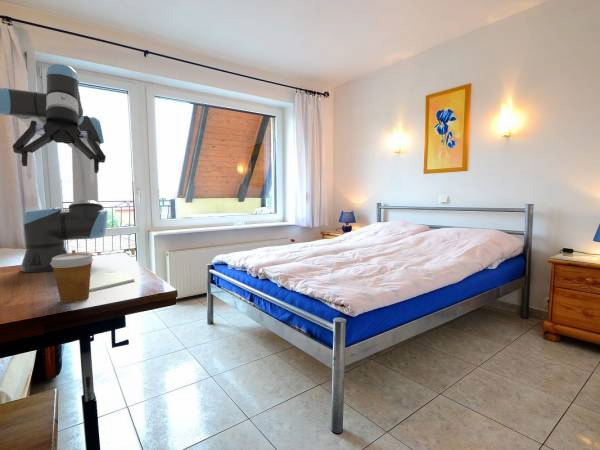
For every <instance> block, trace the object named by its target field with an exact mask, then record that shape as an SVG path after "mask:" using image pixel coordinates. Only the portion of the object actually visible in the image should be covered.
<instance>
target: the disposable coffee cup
mask: <svg viewBox="0 0 600 450" xmlns="http://www.w3.org/2000/svg"><path fill="white" fill-rule="evenodd" d="M93 260H94V258H93V256H92V257H91V255H90V254H68V255H61V256H56V257H53V258H52V261H51V263H50V265H51V266H52V267H53V274H54V279H55V282H56V287H57V291H58V295H59V296H58V297H59V301H60V302H61V303H62V304H74V303H79V302H83V301H86V300H87V299H89V297H90V292H89V286H90V276H91V274H92V273H91V271H92V267H91V263H92V264H93Z"/></svg>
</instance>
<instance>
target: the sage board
mask: <svg viewBox="0 0 600 450" xmlns="http://www.w3.org/2000/svg"><path fill="white" fill-rule="evenodd" d="M132 281H133V282H135V278H133V277H129V276H125V275H120V274H118V273H112V272H104V273H99V274H95V275H90V286H89V293H90V292H94V291H95V292H96V291H99V290H103V289H108V288H111V287H116V286H120V285H124V284H127V283H133V282H132Z"/></svg>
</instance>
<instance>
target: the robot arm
mask: <svg viewBox="0 0 600 450" xmlns="http://www.w3.org/2000/svg"><path fill="white" fill-rule="evenodd" d="M45 77H46V92H36V91H35V92H34V91H30V90H29V91H28V90H21V89H12V88H7V87H0V115H4V116H14V117H15V118H17V119H18V120H20V121H21V122H23V123H24V124H25V125H26V127H27V129H26V131H24V132H23V133H22V134H21V136H20V137H19V138H18V139H17V140H16V141H15V143H13V144H12V149H13V153H15V154H20V155H21V165H22V166H23V167H26V178H27V180H32V171H33V170H32V168H33V155H32V154H33V153H35V152H36V151H37V150H39V149H41V148H42V147H44V146H45V145H47V144H49V143H51V142H54V143H57V144H60V143H61V144H65V145H67V146H68V147H70V148H71V158H72V159H71V163H72V164H71V165H72V166H71V167H72V199H73V202H72V203H70V204H69V205H68V210H63V209H62V207H61V206H58V207H50V208H43V209H36V210H29V211H25V213H24V214H23V222H22V223H23V224H22V225H23V229H24V230H23V231H24V239H25V254H24V256H23V259H22V263H21V271H22V272H23V273H42V272H51V271H53V267H52V266H51V265H50V263H51V261H52V258H53V257H55V256H58V255H61V254H67V253H68V252H67V249H66V248H65V241H72V240H74V241H75V240H88V239H90V240H93V239H101V238H103V237H104V236H105V234H106V231H107V223H108V222H107V221H108V211H107V209H104V207H103V205H102V204H101V203H100V202H99V189H98V188H99V185H98V183H99V182H98V173H99V170H100V168H99V167H100V165H99V164H100V163H101V164H102V163H106V155H105V153H104V152H103V150H102V148H101V145H102V144H104V143H105V141H104V140H105V139H104V136H103V131H102V129H103V128H102V125H101V121H100V118H99V117H98V116H96V115H92V114H91V115H90V114H87V113H86V114H84V109H83V106H82V101H81V95H80V91H79V83H80V82H79V78H78V77H79V76H78V73H77V72H76V70H74V68H72V67H71V66H69V65H66V64H62V63H52V64H50V65H49V66H48V67H47V70H46V74H45ZM36 134H37V135H39V137H38V138H36V139H35V140H33V141H32V139H33V138H34V136H35V135H36ZM30 141H31V142H30ZM29 142H30V143H29ZM53 272H54V271H53Z"/></svg>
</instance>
